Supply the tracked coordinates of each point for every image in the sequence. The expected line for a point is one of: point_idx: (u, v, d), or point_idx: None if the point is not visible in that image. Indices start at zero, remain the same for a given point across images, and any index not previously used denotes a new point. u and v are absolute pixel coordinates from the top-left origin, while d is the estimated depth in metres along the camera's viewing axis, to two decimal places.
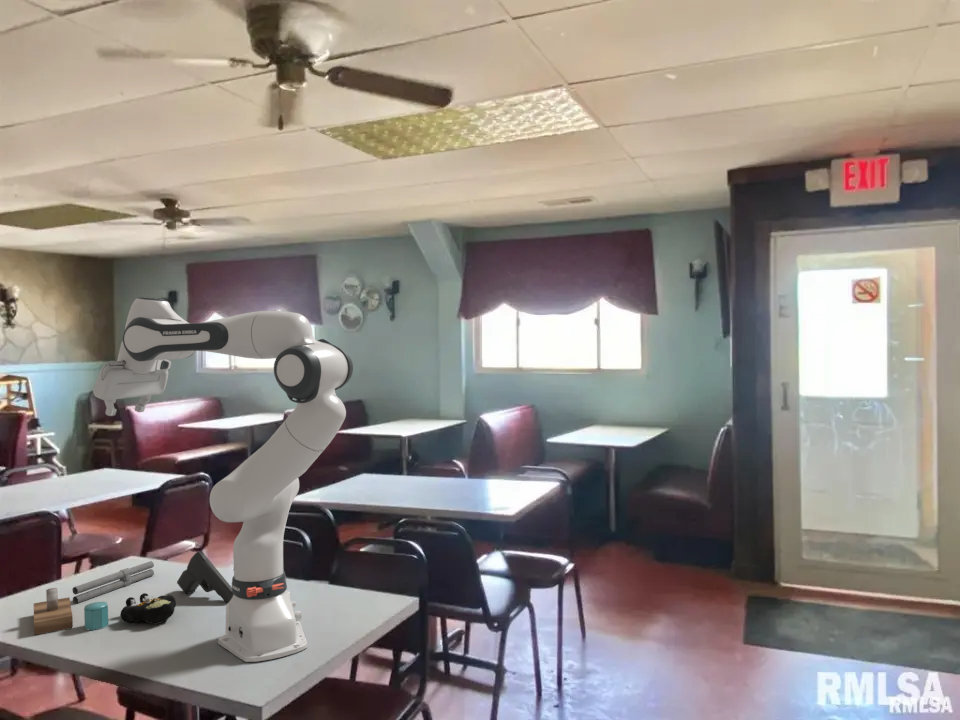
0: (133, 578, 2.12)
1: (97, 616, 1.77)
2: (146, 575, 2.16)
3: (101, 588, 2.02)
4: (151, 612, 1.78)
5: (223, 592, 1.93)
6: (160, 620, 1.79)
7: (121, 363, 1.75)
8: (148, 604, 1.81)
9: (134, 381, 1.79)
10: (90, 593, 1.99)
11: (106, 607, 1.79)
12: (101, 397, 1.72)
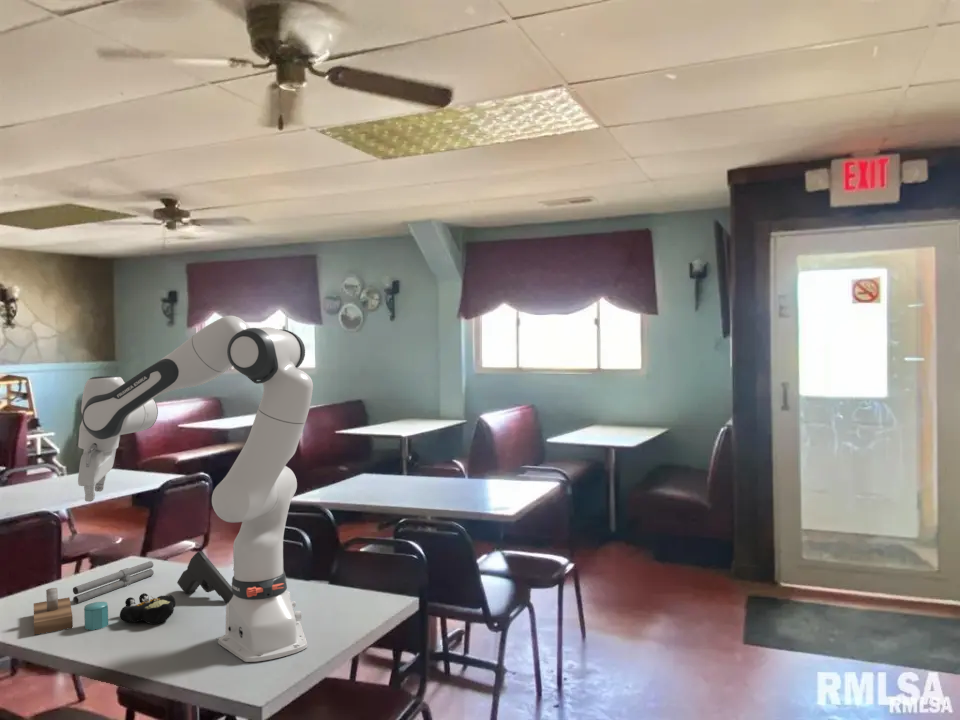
0: (133, 578, 2.12)
1: (97, 616, 1.77)
2: (146, 575, 2.16)
3: (101, 588, 2.02)
4: (150, 612, 1.78)
5: (223, 593, 1.93)
6: (159, 620, 1.79)
7: (95, 446, 1.75)
8: (147, 604, 1.81)
9: (103, 461, 1.80)
10: (90, 593, 1.99)
11: (106, 607, 1.79)
12: (90, 484, 1.72)
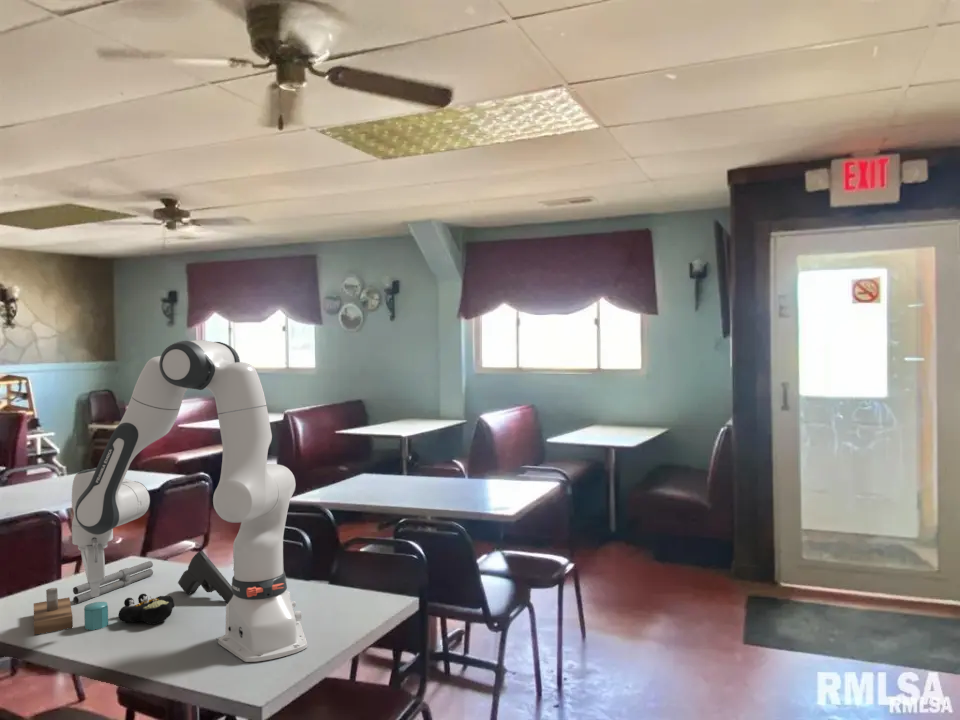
0: (132, 578, 2.12)
1: (97, 616, 1.77)
2: (145, 575, 2.16)
3: (101, 588, 2.02)
4: (149, 613, 1.77)
5: (224, 593, 1.93)
6: (158, 620, 1.79)
7: (97, 540, 1.74)
8: (146, 604, 1.81)
9: None
10: (90, 593, 1.99)
11: (106, 607, 1.79)
12: (101, 579, 1.71)
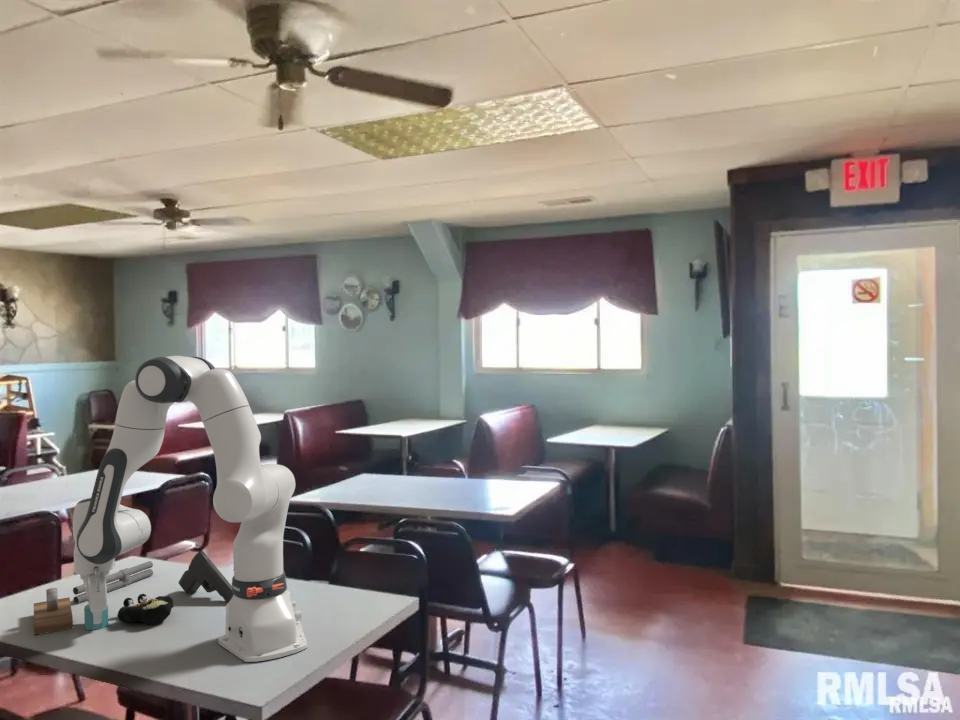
0: (132, 578, 2.12)
1: None
2: (145, 575, 2.16)
3: None
4: (147, 613, 1.77)
5: (224, 593, 1.93)
6: (157, 621, 1.79)
7: (99, 569, 1.74)
8: (145, 605, 1.81)
9: None
10: None
11: None
12: (103, 608, 1.71)
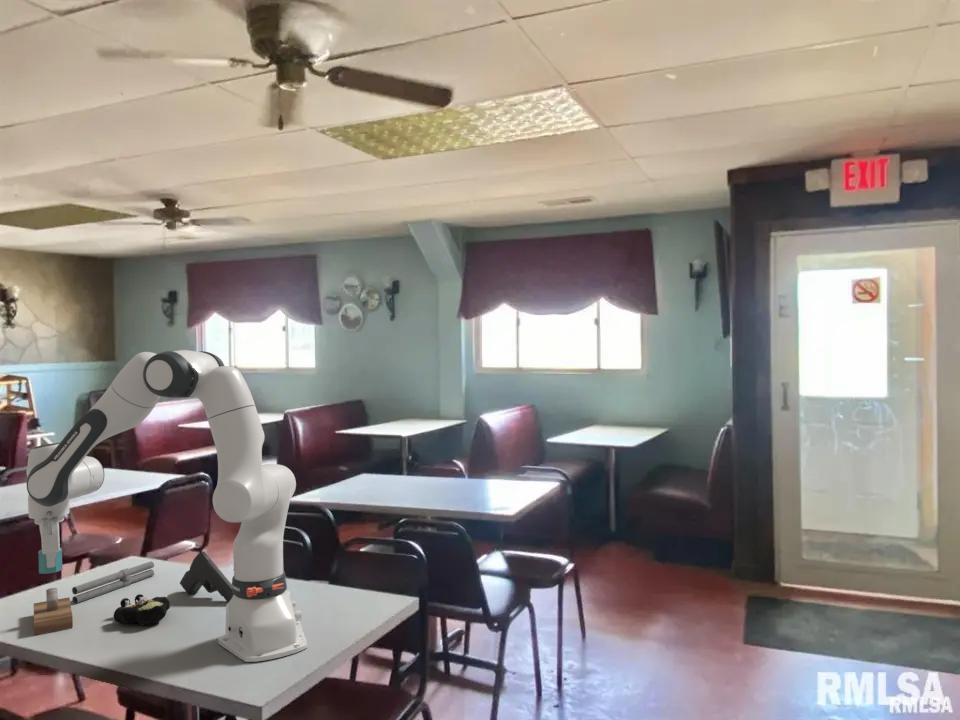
0: (133, 578, 2.12)
1: None
2: (146, 575, 2.16)
3: (101, 588, 2.02)
4: (142, 614, 1.77)
5: (225, 593, 1.93)
6: (152, 622, 1.78)
7: (52, 514, 1.78)
8: (140, 605, 1.80)
9: None
10: (90, 593, 1.99)
11: (60, 552, 1.83)
12: (55, 550, 1.75)
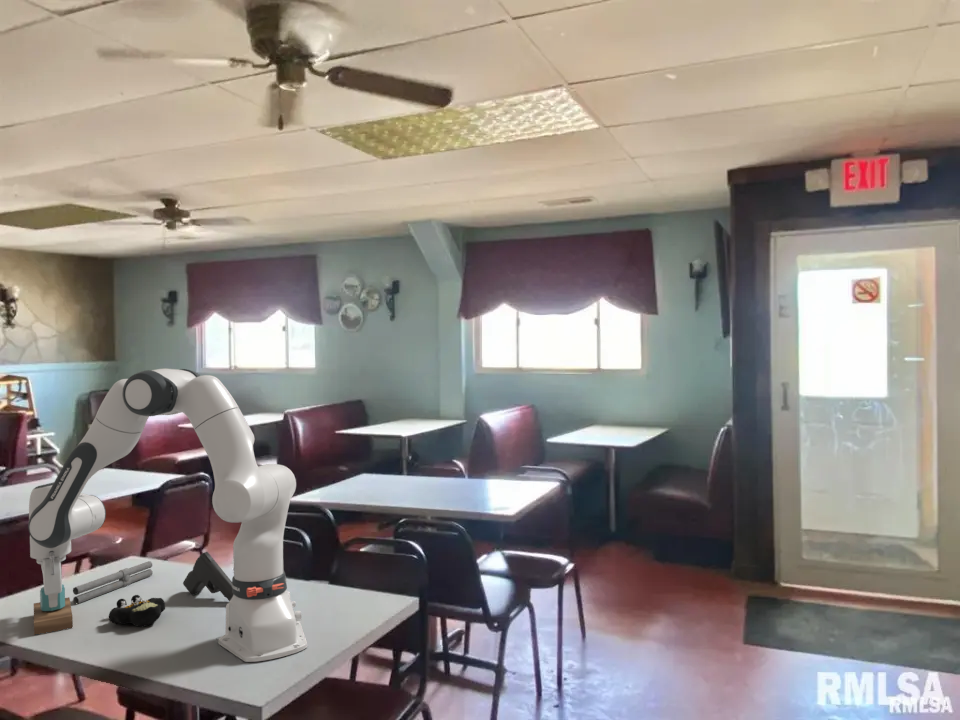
0: (132, 578, 2.12)
1: (62, 594, 1.83)
2: (145, 575, 2.16)
3: (101, 588, 2.02)
4: (136, 615, 1.76)
5: (228, 594, 1.92)
6: (146, 623, 1.78)
7: (54, 554, 1.78)
8: (135, 606, 1.79)
9: None
10: (90, 593, 1.99)
11: None
12: (58, 591, 1.75)
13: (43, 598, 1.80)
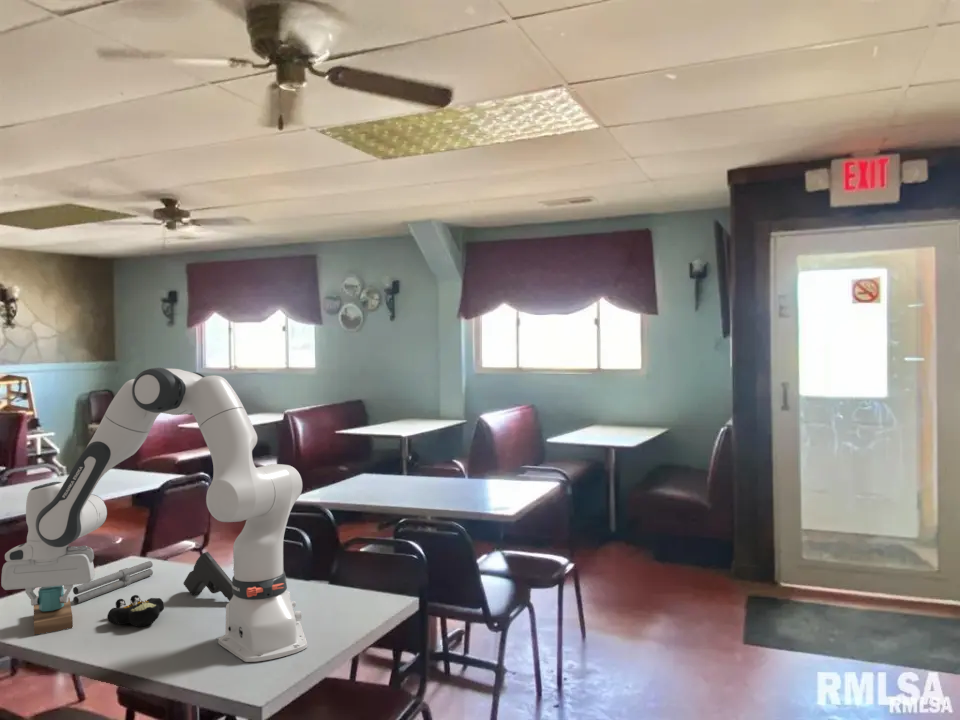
0: (132, 578, 2.12)
1: None
2: (145, 575, 2.16)
3: (101, 588, 2.02)
4: (135, 615, 1.76)
5: (229, 594, 1.92)
6: (144, 623, 1.77)
7: None
8: (134, 607, 1.79)
9: None
10: (90, 593, 1.99)
11: None
12: (93, 577, 1.85)
13: (52, 598, 1.81)
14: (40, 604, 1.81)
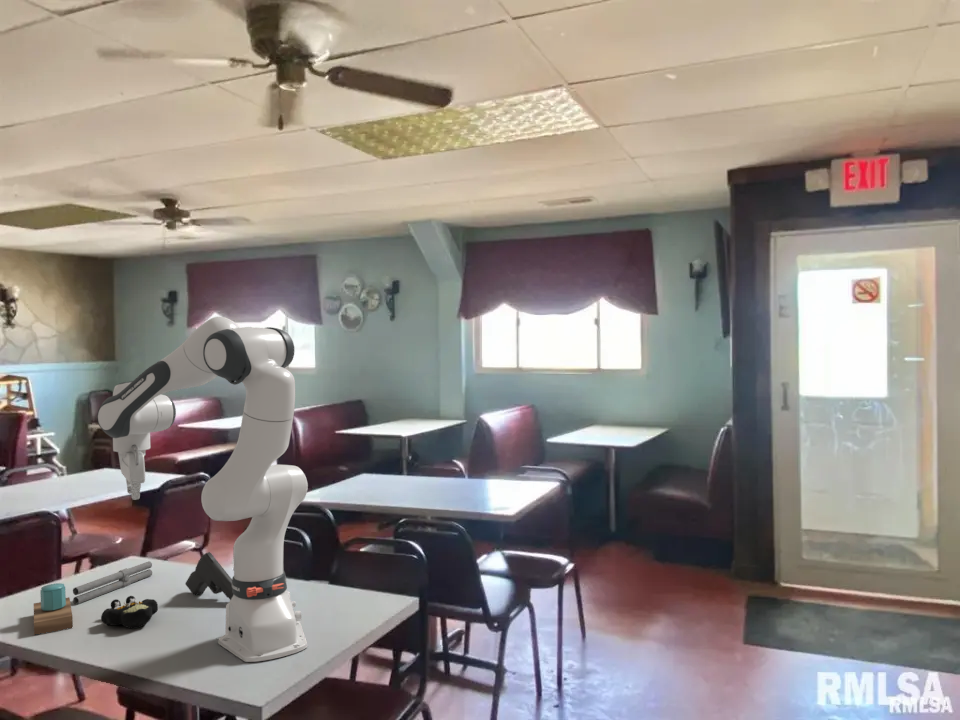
0: (132, 578, 2.12)
1: None
2: (145, 575, 2.16)
3: (101, 588, 2.02)
4: (126, 617, 1.75)
5: (231, 594, 1.92)
6: (136, 625, 1.76)
7: (136, 447, 1.87)
8: (127, 608, 1.79)
9: None
10: (90, 594, 1.99)
11: None
12: (142, 481, 1.84)
13: (54, 597, 1.81)
14: (42, 603, 1.82)
